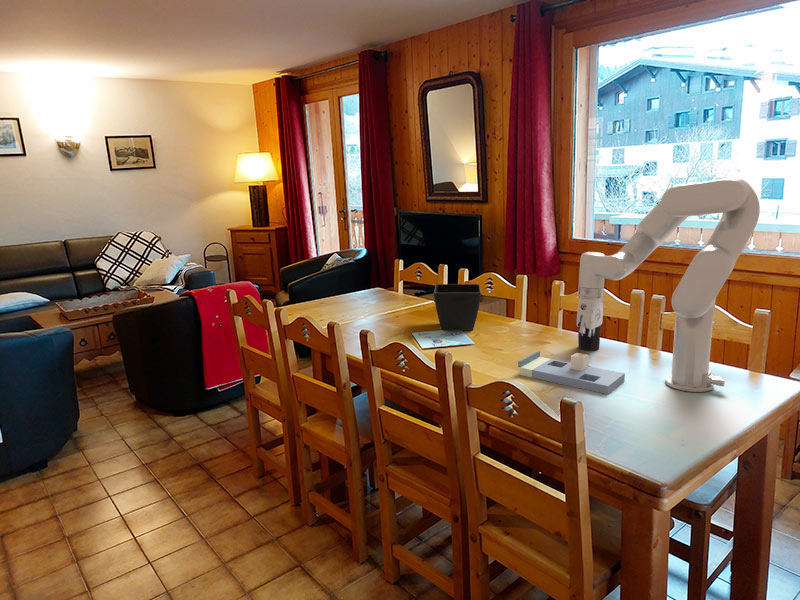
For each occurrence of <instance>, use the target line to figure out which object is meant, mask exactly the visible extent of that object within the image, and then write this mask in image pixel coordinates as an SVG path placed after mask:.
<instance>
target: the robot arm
mask: <svg viewBox="0 0 800 600" xmlns="http://www.w3.org/2000/svg"><path fill="white" fill-rule="evenodd" d="M760 210H761V209H760V201H759V198H758V195H757V194H756V192H755V189H754V188H753V187H752V186H751V185H750V184H749V182H747V181H746V180H744V179H743V178H739V177H735V176H734V177H726V178H722V179H716V180H715V179H714V180H707V181H703V182H701V181H700V182H695V183H681V184H680V183H679V184H675V185H673V186H670V187H669V188H667V190H666V191H665V192H664V193H663V194H662V197H661V200H660V201H659V202H658V203H657V204H656V205H655V206H654V207H653V208H652V209H651V210H650V211H649V212H648V214H646V216H644V218H643V219H642V220H641V221H640V222H639V223H638V226H637V229H636V230H635V233H634V234H633V236H631V238H630V239H629V240H628V241H627V242H626V243H625V244H623V246H622V247H621V248H620V249H619V250H618V251H617V252H616V253H614V254H611V255H605V254H604V253H602V252H597V251H587V252H586V251H585V252H583V253H581V255H580V261H579V273H578V274H579V277H578V292H577V296H578V298H579V297H580V298H579V299H578V303H577V304H578V305H577V312H576V327H577V329H578V328H580V331H579V332H580V333H581V335H582V341H581V347H583V348H587V349H591V348H593V338H594V332H595V328H596V327H598V326H600V325H602V324H603V320H604V319H603V318H604V301H603V299H604V289H605V287H604V286H605V279H607V280H611V281H620V280H622V279H624V278H626V277H627V276H629V275H631V274H632V273H633V272H634V271H635V270H636V269H637V268H638V267H639V266H640V265H641V264H642V263H643V262H644V261H645V260H646V259H647V258H648V257H649V256H650V255H651V254H652V253H653V252H654V251H655V250H656V249H657V248H658V247H660V246H661V245H662V244H663V243H664V242H665V241H666V240H667V238H669V236H671V234H673V232H674V231H675V230H677V229H678V227H679V226H681V224H682V223H683V222H685V221H686V219H687V218H688V217H693V216H694V217H695V216H703V215H712V214H713V215H714V214H722V215H721V218H720V220H719V222H718V223H717V225H716V226H715V228H714V230H713V232H712V234H711V236H710V237H709V239H708V241H707V242H706V244H705V246H703V248H702V249H700V251H698V252H697V254H695V256H694V257H693V259H692V260H691V262H690V263H689V265H688V266H687V268H686V270H685V273H684V274H683V275H682V277H681V279H680V281H679V283H678V284H677V286H676V288H675V289H674V291H673V293H672V296H671V306H672V309H673V311H674V312H675V322H674V332H673V333H674V335H673V350H672V363H671V374H669V375H668V376H666V377H665V384H666V385H667V386H669V387H670V388H672V389H675V390H678V391H683V392H689V393H704V392H709V391H712V390H713V389H714V387H715V386H718V387H723V388H724V387H725V386H726V385H725V383H726V380H725V379H723V377H720V376H715V375H713V374H712V370H710V369H709V368H710V359H711V358H710V357H711V347H712V337H713V336H712V335H713V325H714V314H715V309H716V308H715V307H716V300H717V296H718V295H719V293H720V291H721V289H722V288H723V286H724V284H725V283H726V281H727V280H728V278H729V276H730V275H731V274H732V272H733V270H734V268H735V265H736V263H737V261H738V259H739V257H740V256H741V254H742V252H743V250H744V248H745V247H746V245H747V243H748V242H749V240H750V237H751V236H752V235H753V232H754V230H755V228H756V226H757V224H758V222H759V217H760V213H761V211H760Z"/></svg>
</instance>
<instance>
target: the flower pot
mask: <svg viewBox="0 0 800 600" xmlns="http://www.w3.org/2000/svg"><path fill="white" fill-rule="evenodd" d="M481 295H482V290H481V285H480V284H478V283H477V284H475V283H469V284H468V283H449V284H448V283H441V284H439V283H437V284H435V285H434V290H433V299H434V305H435V310H436V314H437V318H438V322H439V325H440V328H441V330H442V331H473V330H474V327H475V325H476V321H477V318H478V313H479V309H480V303H481V298H482V297H481Z"/></svg>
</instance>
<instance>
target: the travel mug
mask: <svg viewBox="0 0 800 600" xmlns="http://www.w3.org/2000/svg"><path fill="white" fill-rule="evenodd" d="M578 298H580V297H579V296H578ZM601 325H602V324H601ZM601 325H600V326H598V327H596V328H595V332H594V338H593V348H591V349H587V348H583V347H581V341H582V335H581V333H580V332H579V331H580V328H578V327H577V330H578V334H577V335H578V337H577V339H578V342H577V344H578V347H577V348H578V349H580V350H582V351H589V352H594V351H598V350H599V349H600V343H601V330H602V329H601V327H602V326H601Z"/></svg>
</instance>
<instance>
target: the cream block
mask: <svg viewBox="0 0 800 600" xmlns="http://www.w3.org/2000/svg"><path fill="white" fill-rule="evenodd" d="M570 363H571V366H570V368H571V369H576V370H581V371H583V370H585V369H586V368H588V366H589V355H588V354H585V353H580V352H576V353H575V352H574V354H572V355H570Z"/></svg>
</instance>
